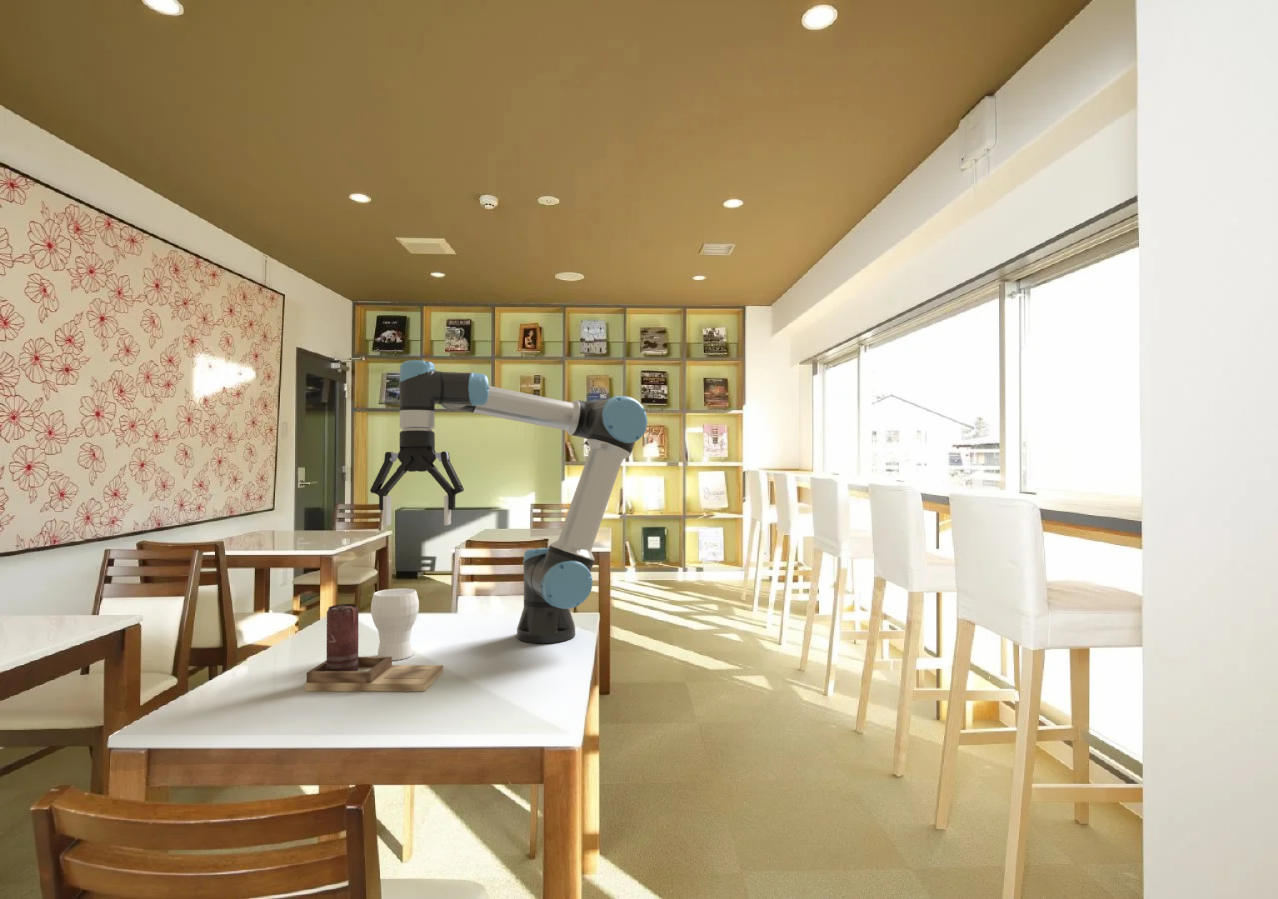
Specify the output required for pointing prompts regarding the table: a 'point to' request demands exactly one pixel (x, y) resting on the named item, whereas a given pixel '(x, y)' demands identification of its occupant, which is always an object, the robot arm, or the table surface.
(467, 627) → the table surface
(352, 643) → the can
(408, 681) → the holder board
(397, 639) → the cup
